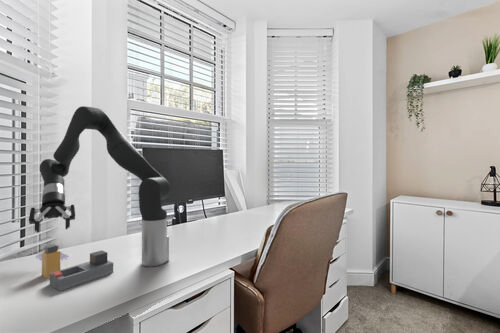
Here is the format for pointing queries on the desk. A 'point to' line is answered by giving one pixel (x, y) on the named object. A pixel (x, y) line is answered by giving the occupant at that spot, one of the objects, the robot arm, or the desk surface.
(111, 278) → the desk surface
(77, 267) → the power strip
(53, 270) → the adapter plug
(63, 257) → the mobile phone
